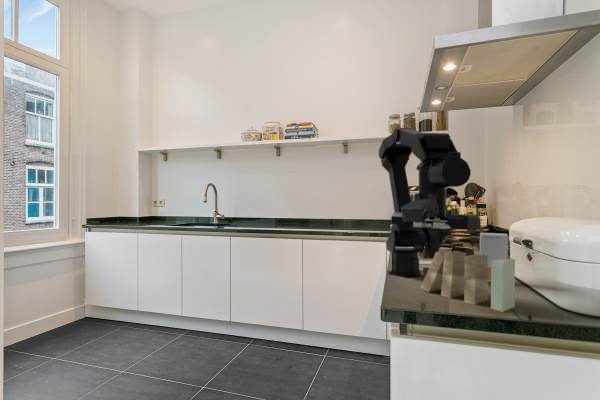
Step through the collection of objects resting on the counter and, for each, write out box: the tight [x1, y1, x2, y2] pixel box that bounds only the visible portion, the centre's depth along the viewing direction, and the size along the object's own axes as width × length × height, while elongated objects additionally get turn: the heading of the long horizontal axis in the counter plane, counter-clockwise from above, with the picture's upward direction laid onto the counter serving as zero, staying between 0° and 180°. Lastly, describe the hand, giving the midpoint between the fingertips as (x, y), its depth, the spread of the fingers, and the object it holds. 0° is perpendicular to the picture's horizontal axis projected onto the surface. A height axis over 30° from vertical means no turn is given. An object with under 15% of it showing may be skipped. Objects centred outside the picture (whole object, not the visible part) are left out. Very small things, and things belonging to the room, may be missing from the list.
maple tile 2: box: [440, 250, 467, 299], centre depth 69 cm, size 2×5×9 cm, turn 125°
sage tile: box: [490, 257, 516, 313], centre depth 62 cm, size 2×5×9 cm, turn 125°
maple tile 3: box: [463, 253, 488, 305], centre depth 66 cm, size 2×5×9 cm, turn 125°
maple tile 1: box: [420, 249, 452, 293], centre depth 72 cm, size 2×5×9 cm, turn 125°
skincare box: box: [479, 232, 509, 283], centre depth 82 cm, size 6×4×12 cm
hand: (431, 258), depth 74 cm, fingers closed
